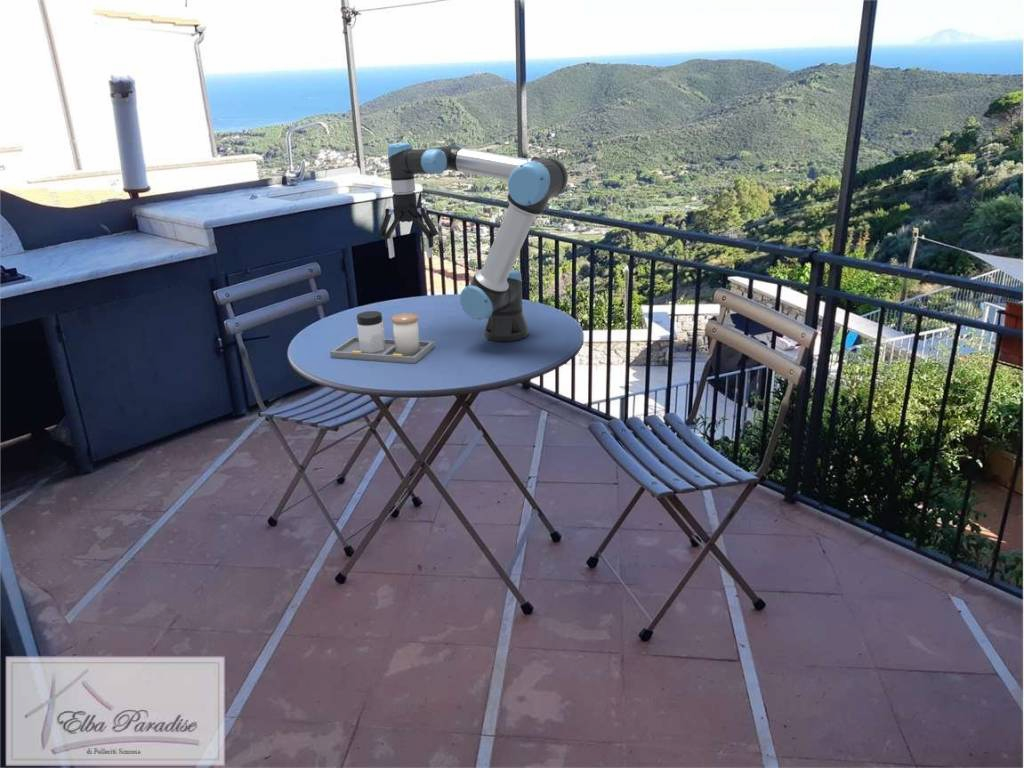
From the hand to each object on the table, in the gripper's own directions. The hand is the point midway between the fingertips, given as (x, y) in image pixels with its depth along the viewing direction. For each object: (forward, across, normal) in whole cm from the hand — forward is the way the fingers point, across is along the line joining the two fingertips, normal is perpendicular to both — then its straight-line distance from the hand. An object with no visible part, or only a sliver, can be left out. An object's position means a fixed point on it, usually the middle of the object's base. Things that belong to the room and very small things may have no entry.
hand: (410, 257), depth 251 cm
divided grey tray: (+28, +6, +18) cm, 34 cm away
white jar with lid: (+28, -3, +18) cm, 34 cm away
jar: (+27, +10, +17) cm, 34 cm away
